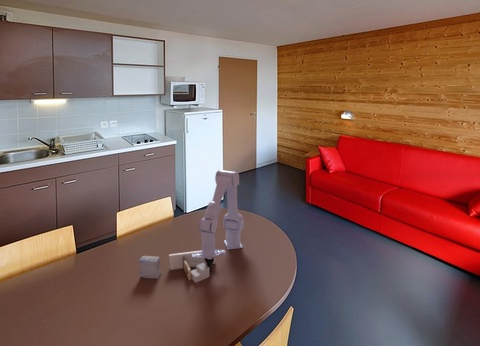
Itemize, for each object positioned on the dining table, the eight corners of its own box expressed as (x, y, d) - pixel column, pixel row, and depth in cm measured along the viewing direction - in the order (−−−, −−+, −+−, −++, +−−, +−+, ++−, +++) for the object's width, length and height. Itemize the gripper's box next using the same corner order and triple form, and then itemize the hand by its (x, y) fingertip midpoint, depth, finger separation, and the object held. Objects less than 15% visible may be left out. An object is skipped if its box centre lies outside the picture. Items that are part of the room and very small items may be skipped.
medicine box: (161, 273, 138) (160, 256, 135) (157, 279, 133) (156, 261, 131) (144, 272, 138) (142, 255, 136) (140, 278, 134) (138, 260, 132)
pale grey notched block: (189, 277, 135) (189, 268, 134) (203, 271, 139) (202, 262, 138) (195, 282, 131) (195, 273, 130) (209, 276, 136) (209, 267, 134)
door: (182, 270, 140) (182, 260, 138) (186, 269, 140) (185, 260, 139) (187, 280, 132) (187, 270, 131) (191, 280, 133) (190, 269, 132)
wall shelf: (169, 267, 142) (169, 254, 140) (214, 261, 147) (214, 248, 145) (170, 271, 139) (169, 257, 137) (215, 265, 144) (215, 251, 142)
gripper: (192, 250, 128) (194, 278, 132) (226, 246, 132) (226, 273, 136) (190, 242, 135) (192, 269, 139) (223, 238, 139) (223, 265, 142)
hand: (209, 271), depth 138 cm, fingers closed, pressing on pale grey notched block
